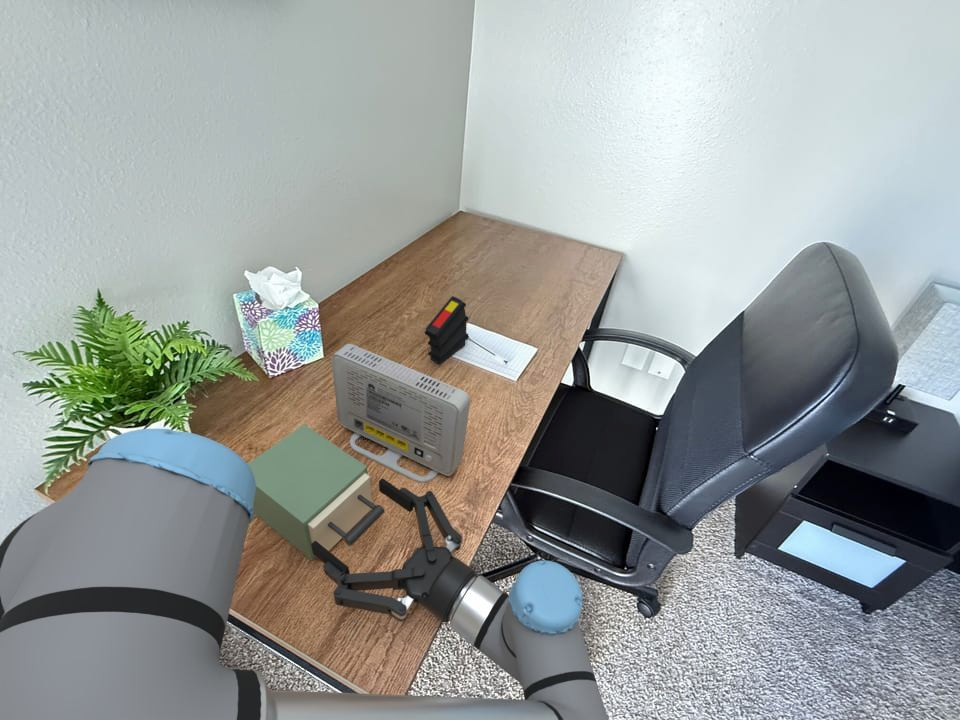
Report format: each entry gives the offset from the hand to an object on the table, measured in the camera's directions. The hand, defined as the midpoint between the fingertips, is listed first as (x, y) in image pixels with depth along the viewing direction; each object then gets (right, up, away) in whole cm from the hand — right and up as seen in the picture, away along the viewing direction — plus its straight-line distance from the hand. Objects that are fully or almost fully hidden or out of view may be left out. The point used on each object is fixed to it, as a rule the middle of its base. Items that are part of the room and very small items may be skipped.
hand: (349, 513), depth 71 cm
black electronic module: (+11, +25, +45) cm, 53 cm away
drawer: (-5, -3, +6) cm, 8 cm away
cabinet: (-9, -2, +8) cm, 12 cm away
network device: (+4, +6, +20) cm, 21 cm away
